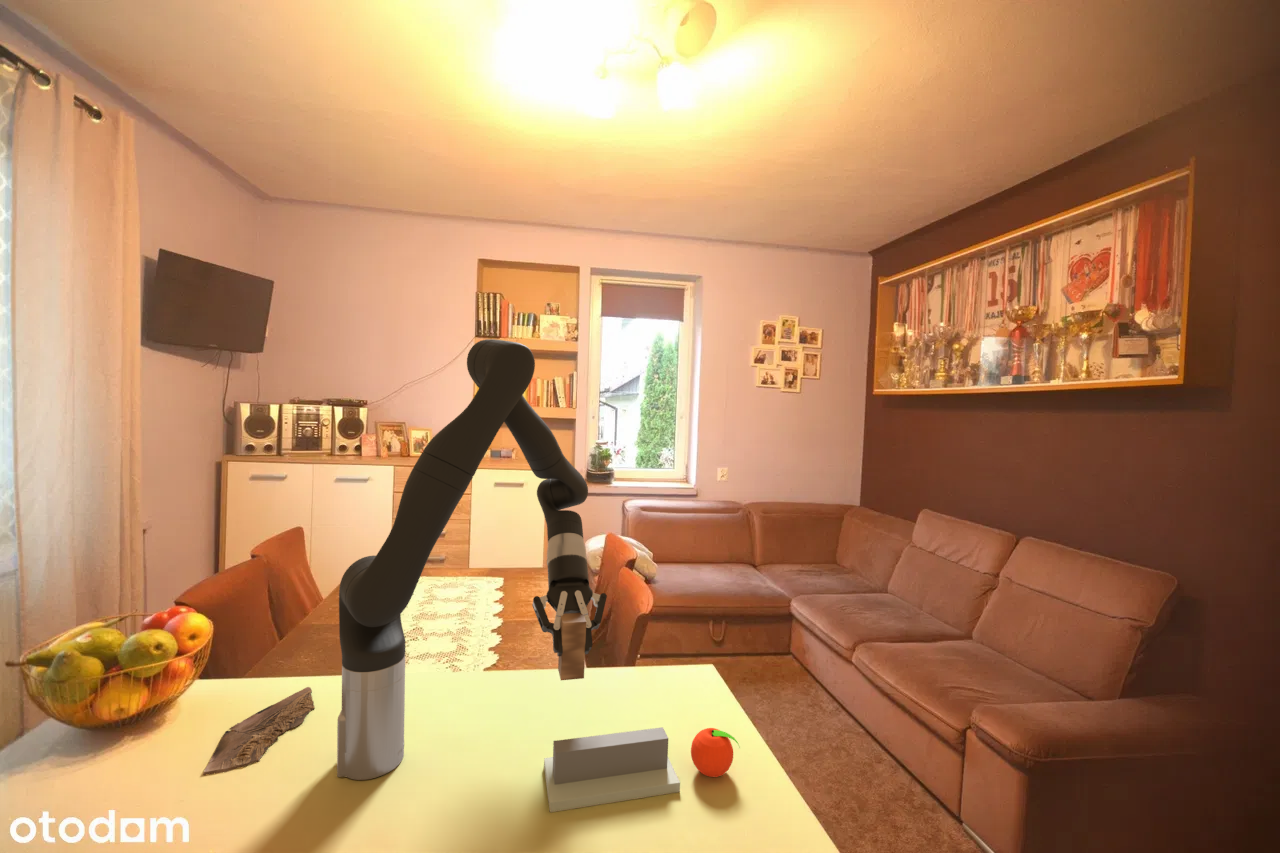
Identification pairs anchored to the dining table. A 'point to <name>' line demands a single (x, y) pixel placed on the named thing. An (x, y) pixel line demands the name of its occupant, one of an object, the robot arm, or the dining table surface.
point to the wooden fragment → (259, 732)
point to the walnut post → (572, 646)
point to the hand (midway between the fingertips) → (573, 653)
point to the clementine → (712, 752)
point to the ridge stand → (609, 769)
